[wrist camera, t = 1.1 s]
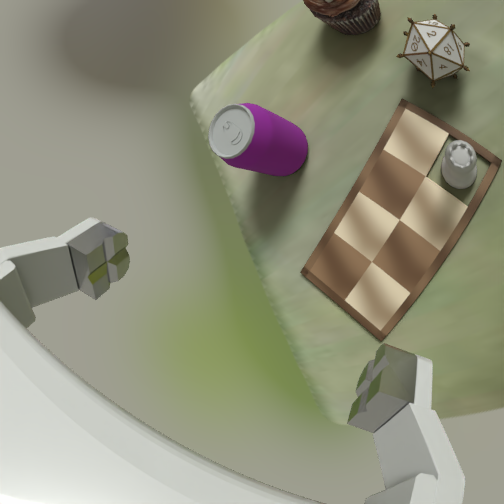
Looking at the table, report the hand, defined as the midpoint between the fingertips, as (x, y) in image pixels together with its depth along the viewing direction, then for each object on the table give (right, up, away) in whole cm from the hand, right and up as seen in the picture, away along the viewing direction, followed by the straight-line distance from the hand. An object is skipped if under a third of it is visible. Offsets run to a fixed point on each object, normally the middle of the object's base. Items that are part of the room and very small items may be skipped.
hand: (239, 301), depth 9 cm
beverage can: (+5, +15, +33) cm, 37 cm away
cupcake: (+15, +35, +24) cm, 45 cm away
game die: (+23, +24, +19) cm, 38 cm away
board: (+17, +5, +25) cm, 31 cm away
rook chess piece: (+24, +11, +20) cm, 33 cm away
